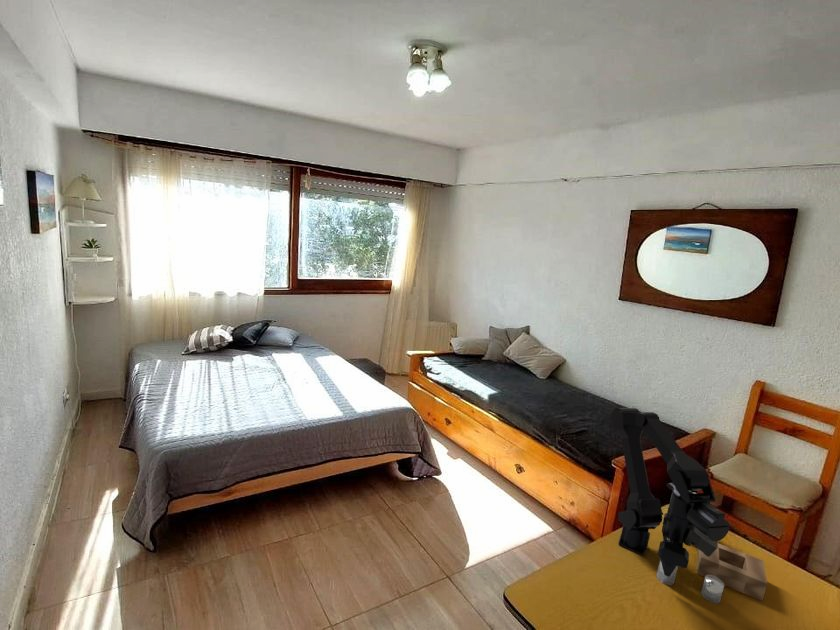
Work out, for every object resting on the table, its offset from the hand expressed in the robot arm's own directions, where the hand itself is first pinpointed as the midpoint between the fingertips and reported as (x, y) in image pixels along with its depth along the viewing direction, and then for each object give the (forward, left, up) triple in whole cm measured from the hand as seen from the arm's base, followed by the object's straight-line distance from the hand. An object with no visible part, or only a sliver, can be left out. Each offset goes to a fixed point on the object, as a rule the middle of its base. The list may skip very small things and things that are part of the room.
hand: (667, 567), depth 115 cm
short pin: (+10, +1, -4) cm, 11 cm away
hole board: (+14, +13, -3) cm, 19 cm away
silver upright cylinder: (0, 0, -3) cm, 3 cm away
